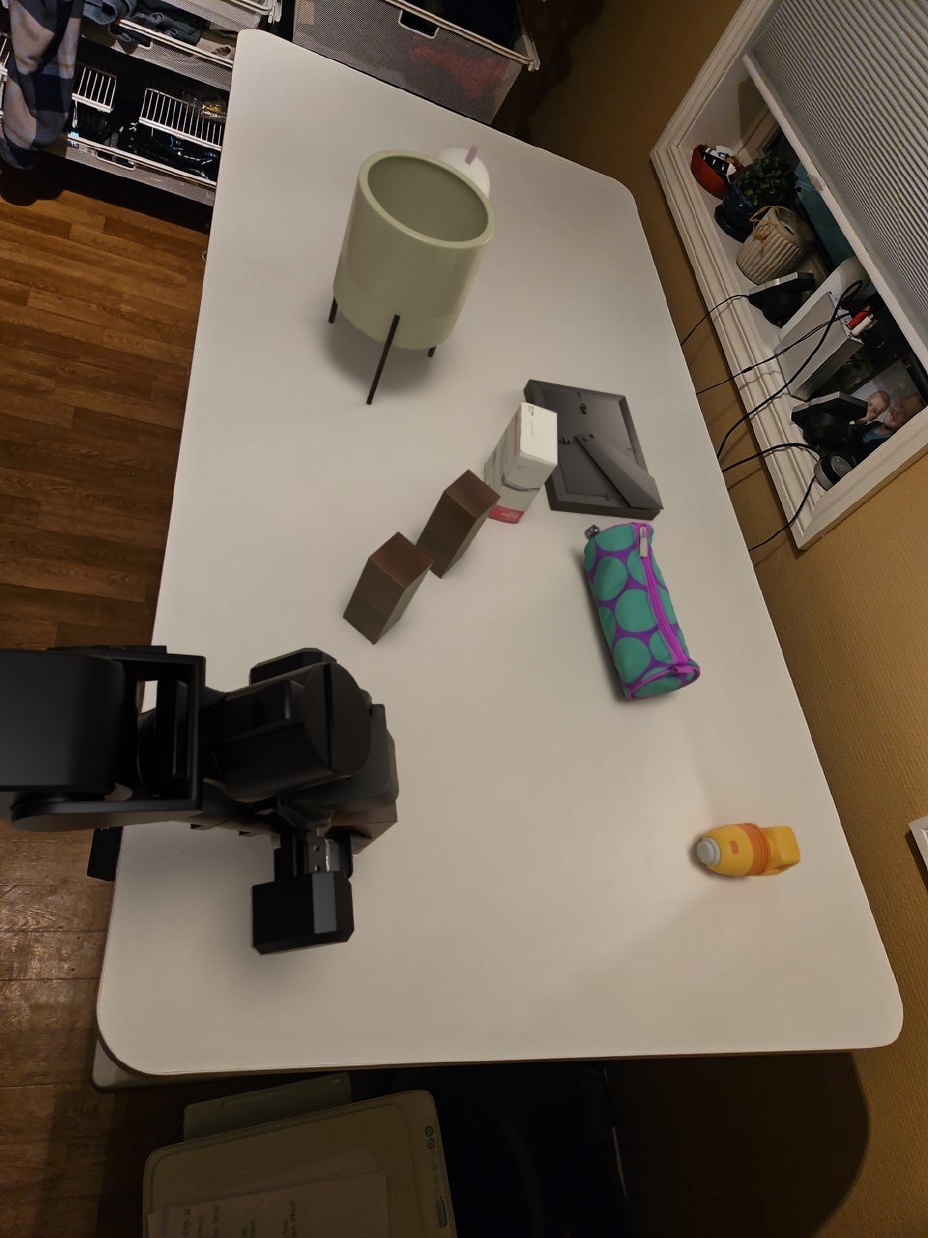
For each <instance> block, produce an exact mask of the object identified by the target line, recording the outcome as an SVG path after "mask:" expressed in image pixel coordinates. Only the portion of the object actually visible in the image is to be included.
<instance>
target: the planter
mask: <svg viewBox="0 0 928 1238" xmlns="http://www.w3.org/2000/svg"><path fill="white" fill-rule="evenodd" d="M433 157H434V156H430V155H428V154H425V153H421V152H417V151H413V150H406V149H386V150H380V151H377V152H375V153H372V154H370V155H369V156H368V157H366V158H365V159H364V160H363V162H362V163H361V165H360V166H359V170H358V173H357V178H356V182H355V186H354V191H353V194H352V195H353V196H352V199H351V203H350V208H349V212H348V217H347V221H346V226H345V231H344V235H343V239H342V243H341V248H340V252H339V256H338V261H337V266H336V270H335V274H334V278H333V284H332V290H333V297H332V298H333V299H332V301H331V307H330V310H329V315H328V320H327V322H328V323H329V324H331V325H332V324H334V323H335V322H336V317H337V313H338V309H339V310H340V312H341V313H342V314H343V316H344V317H345V318H346V319H347V320H348V321H349V323H351V325H353V327H355V328H356V329H358V330H359V331H360V332H362V333H363V334H364V335H366V336H367V337H370V338H371V339H373V340H375V341H378V342H379V343H381V344H384V345H383V349H382V351H381V354H380V358H379V361H378V363H377V368H376V371H375V373H374V376H373V380H372V383H371V386H370V388H369V392H368V395H367V397H366V398H367V399H366V402H365V403H366V404H367V405H372V402H373V401H374V397H375V395H376V394H375V393H376V391H377V388H378V385H379V382H380V379H381V376H382V373H383V370H384V368H385V364H386V361H387V358H388V355H389V352H390V349H391V347H392V348H393V347H394V348H397V349H402V350H408V351H409V350H411V351H421V350H428V351H427V353H426V355H427V357H428V358H434V355H435V353H436V350H437V347H438V346H440V345H441V344H443V343H444V342H445V341H447V340H448V339H449V338H450V337H451V335H452V333H453V332H454V329H455V327H456V325H457V322H458V319H459V318H460V315H461V313H462V310H463V308H464V305H465V303H466V300H467V298H468V296H469V294H470V291H471V289H472V286H473V284H474V282H475V279H476V277H477V274H478V272H479V270H480V267H481V265H482V263H483V260H484V258H485V255H486V254H487V251H488V248H489V246H490V244H491V241H492V239H493V237H494V234H495V231H496V226H497V217H496V213H495V210H494V208H493V205H492V203H491V202H490V200H489V198H487V197H486V195H485V194H484V193H483V192H482V191H481V189H480V188H479V187H478V186H477V185H476V184H475V183H474V182H473V181H472V180H470V179H469V178H468V177H467V176H465V175H464V174H463V173H461V172H460V171H458V170H457V169H455V168H454V167H452V166H450V165H448V164H446V163H444V162H442V161H440V160H438V159H436V158H433Z"/></svg>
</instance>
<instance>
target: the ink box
mask: <svg viewBox="0 0 928 1238" xmlns="http://www.w3.org/2000/svg"><path fill="white" fill-rule="evenodd" d="M519 403H520V404H519V405H518V407H517V409H516V411H515V413H514V414H513V415H512V417H511V419H510V421H509V422H508V424H507V426H506V427H505V429H504V431H503V432H502V434H501V436H500V438H499V439H498V441H497V443H496V445H495V447H493V450H492V452H491V453H490V455H489V457H488V458H487V459H486V462H485V463H484V480H483V482H484V483H486V484H487V485H488V486H489V487H490V488H492V489H493V490H494V491H495V492H496V493H497V494H499V495H500V496H501V497H500V499H499V500H498V502H497V504H496V505H495V507H494V508H493V510H492V511H491V513H490V514H489V516H488V518H491V519H494V520H498V521H501V522H507V523H511V524H518V523H519V522H520V520H521V518H522V517H523V516H524V514H525V512H526V511H527V509H528V508H529V507H530V505H531V503H532V502H533V501H534V499H535V497H536V496H537V495H538V493H539V491H541V489H542V487H544V485H545V481H546V480H547V478H548V477H549V476H550V474H551V473H552V471H553V470H554V468H555V467H556V466H557V413H556V412H553V411H550V410H547V409H544V408H541V407H538V406H535V405H532V404H529V403H526V401H521V402H519Z"/></svg>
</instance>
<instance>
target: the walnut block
mask: <svg viewBox="0 0 928 1238" xmlns="http://www.w3.org/2000/svg"><path fill="white" fill-rule="evenodd" d="M415 545H416V544H414V543H413V542H412V541H411V540H409V539H408V538H407V537H406V536H405V535H403V533H401V532H400V531H399V530H398V531H396V532H395V533H394V534H393V535H392V536H391V537H390V538H389V539H387V540H386V541H385V542H384V543H383V544H382V545H381V546H380V547H379V548H377V549H376V550H375V551H373V553H372V554H371V555H369V556H368V557H367V560H366V562H365V564H364V567H363V569H362V571H361V573H360V576H359V578H358V580H357V582H356V585H355V587H354V590H353V592H352V594H351V596H350V599H349V601H348V603H347V605H346V608H345V610H344V612H343V615H342V618H343V620H345V621H347V623H349V624H350V625H351V626H352V627H353V628H355V630H357V631H358V632H359V633H360V634H361V635H362V636H364V637H365V638H366V639H367V641H369V642H370V643H372V644H373V645H376V644H377V643H378V642H379V641H380V640H381V639H382V638H383V637H384V636H385V635H386V634H388V632H389V631H390V630H391V629H392V628H393V627H394V626H395V625H396V624H397V623H398V622H399V621H400V620H401V618H402V617H403V615H404V613H405V612H406V610H407V608H408V607H409V605H410V603H411V601H412V600H413V597H414V596H415V595H416V593H417V591H418V589H419V588H420V586H421V585H422V583H423V581H424V579H425V578H426V576H427V575H428V573H429V571H430V567H431V566H432V564H433V562H434V561H433V560H431V559H430V558H429V557H428V556H427V555H426V554H424V553H423V552H422V551H421V550H420V549H419V548H417V547H416V546H415Z"/></svg>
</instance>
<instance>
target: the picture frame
mask: <svg viewBox="0 0 928 1238" xmlns="http://www.w3.org/2000/svg"><path fill="white" fill-rule="evenodd" d="M523 393H524V394H523V395H524V398H525V402H526V403H529V404H532V405H535V406H538V407H541V408H544V409H547V410H550V411H553V412H556V413H557V466H556V467H555V468H554V470H553V471H552V473H551V474H550V476H549V477H548V478H547V480H546V481H545V483H544V487H545V491H546V497H547V500H548V504H549V510H550V511H555V512H564V513H565V512H566V513H576V514H584V515H585V514H586V515H596V516H605V517H614V518H623V519H624V518H625V519H634V520H644V521H654V519H656V517H657V516H659V514H660V513H661V510H663V511H664V508H665V507H664V505H663V502H662V498H661V495H660V492H659V489H658V485H657V483H656V479H655V478H654V477H653V476H652V475H651V474H650V473H649V469H648V465H647V463H646V462H647V461H646V460H645V456H644V453H643V449H642V446H641V442H640V440H639V436H638V433H637V430H636V427H635V424H634V420H633V417H632V413H631V411H630V407H629V404H628V401H627V397H626V395H624V394H617V393H611V392H607V391H600V390H595V389H589V388H584V387H577V386H572V385H566V384H561V383H560V384H559V383H554V382H548V381H542V380H538V379H537V380H536V379H531V378H529V379H528V381H527V383H526V384H525V386H524V388H523Z"/></svg>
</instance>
